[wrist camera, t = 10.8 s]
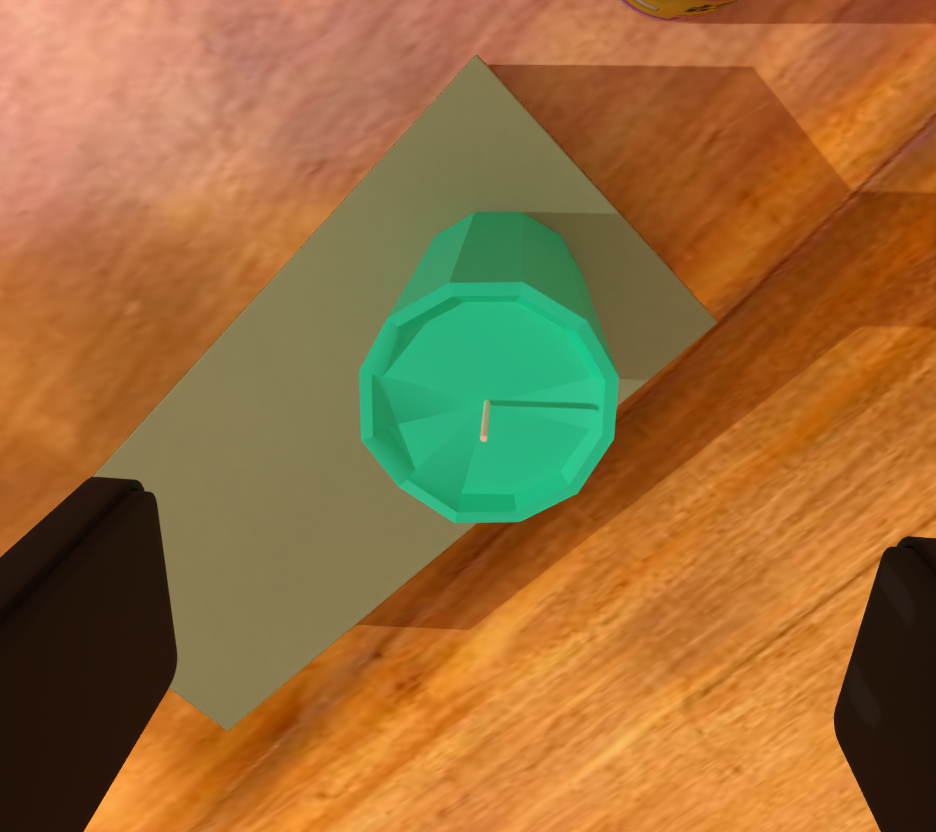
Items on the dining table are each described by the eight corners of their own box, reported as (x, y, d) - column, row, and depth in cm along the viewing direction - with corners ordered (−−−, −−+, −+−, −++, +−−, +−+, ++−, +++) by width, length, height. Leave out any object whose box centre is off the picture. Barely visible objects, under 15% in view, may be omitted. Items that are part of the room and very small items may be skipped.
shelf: (485, 63, 31) (476, 54, 24) (675, 273, 34) (719, 322, 27) (101, 482, 40) (7, 570, 33) (277, 622, 43) (228, 731, 35)
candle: (497, 170, 25) (482, 229, 14) (620, 297, 27) (693, 441, 16) (377, 297, 27) (280, 436, 16) (497, 409, 28) (484, 609, 17)
